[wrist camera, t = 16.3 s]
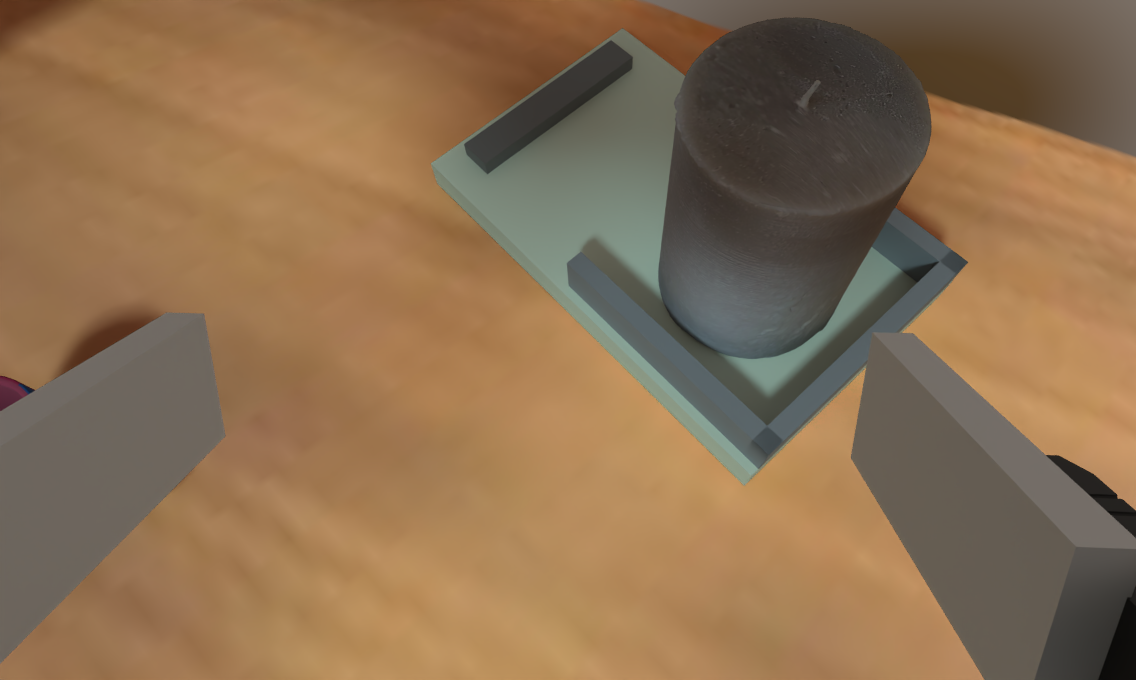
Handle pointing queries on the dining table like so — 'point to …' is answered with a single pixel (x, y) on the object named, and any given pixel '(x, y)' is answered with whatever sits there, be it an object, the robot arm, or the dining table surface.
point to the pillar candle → (783, 179)
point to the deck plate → (633, 243)
